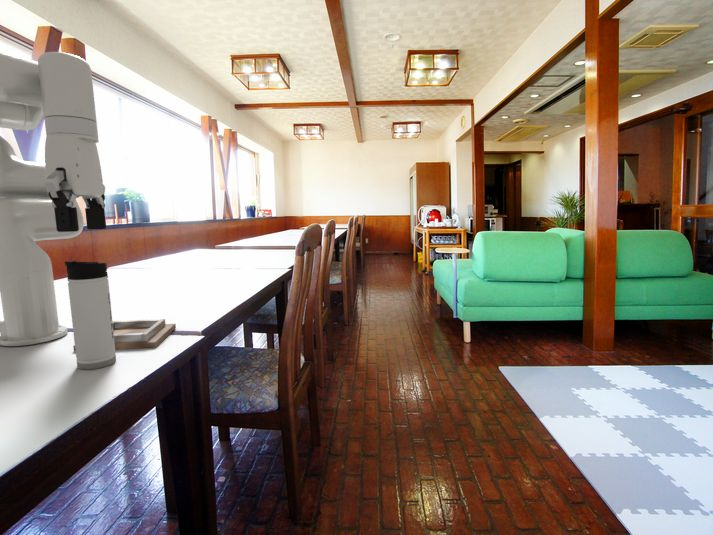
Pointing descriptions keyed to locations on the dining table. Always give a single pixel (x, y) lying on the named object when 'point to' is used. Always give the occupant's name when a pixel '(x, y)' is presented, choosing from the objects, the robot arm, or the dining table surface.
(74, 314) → the travel mug
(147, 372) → the dining table surface
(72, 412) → the dining table surface
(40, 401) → the dining table surface
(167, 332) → the plate
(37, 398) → the dining table surface
